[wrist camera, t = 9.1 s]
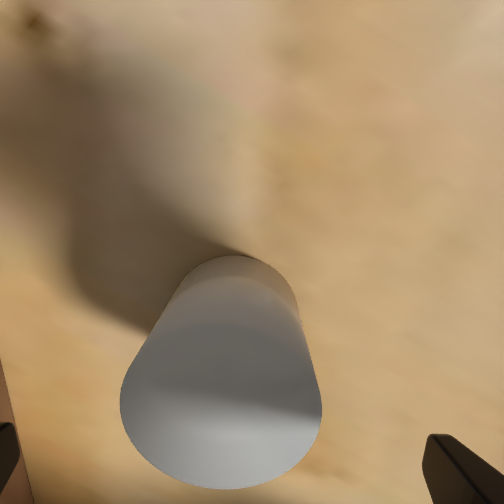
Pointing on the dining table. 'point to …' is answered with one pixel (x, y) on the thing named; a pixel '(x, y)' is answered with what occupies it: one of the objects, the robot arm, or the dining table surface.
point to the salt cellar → (224, 380)
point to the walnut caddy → (17, 488)
